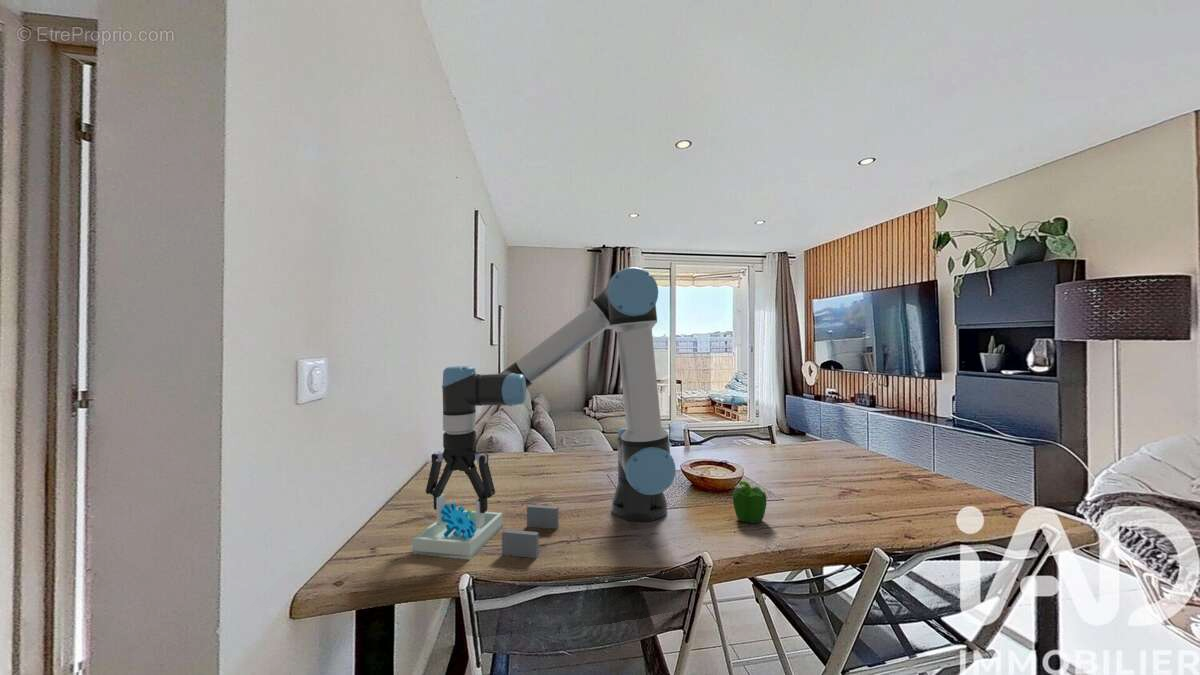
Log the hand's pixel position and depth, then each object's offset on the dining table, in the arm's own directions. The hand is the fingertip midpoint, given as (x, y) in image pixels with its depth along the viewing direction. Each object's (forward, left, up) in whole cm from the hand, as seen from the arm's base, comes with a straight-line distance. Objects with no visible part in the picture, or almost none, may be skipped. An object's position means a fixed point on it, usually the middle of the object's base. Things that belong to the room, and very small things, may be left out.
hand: (460, 524), depth 105 cm
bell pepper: (-69, -24, -4) cm, 73 cm away
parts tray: (0, 0, -4) cm, 4 cm away
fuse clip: (-17, -3, -4) cm, 18 cm away
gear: (0, 0, -3) cm, 3 cm away
